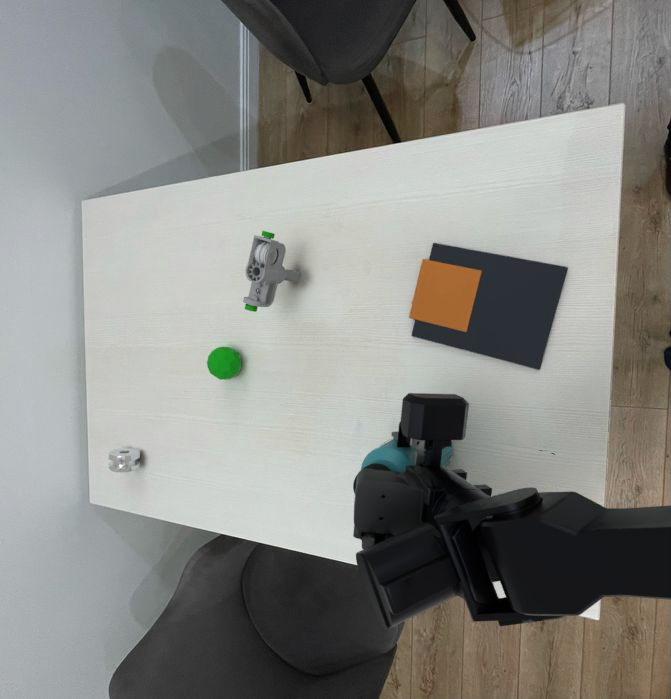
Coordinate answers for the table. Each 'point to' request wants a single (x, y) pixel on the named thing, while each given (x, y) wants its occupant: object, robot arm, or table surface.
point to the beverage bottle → (396, 458)
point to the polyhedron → (224, 363)
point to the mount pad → (487, 303)
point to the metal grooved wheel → (124, 460)
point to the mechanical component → (266, 271)
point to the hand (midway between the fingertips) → (392, 461)
